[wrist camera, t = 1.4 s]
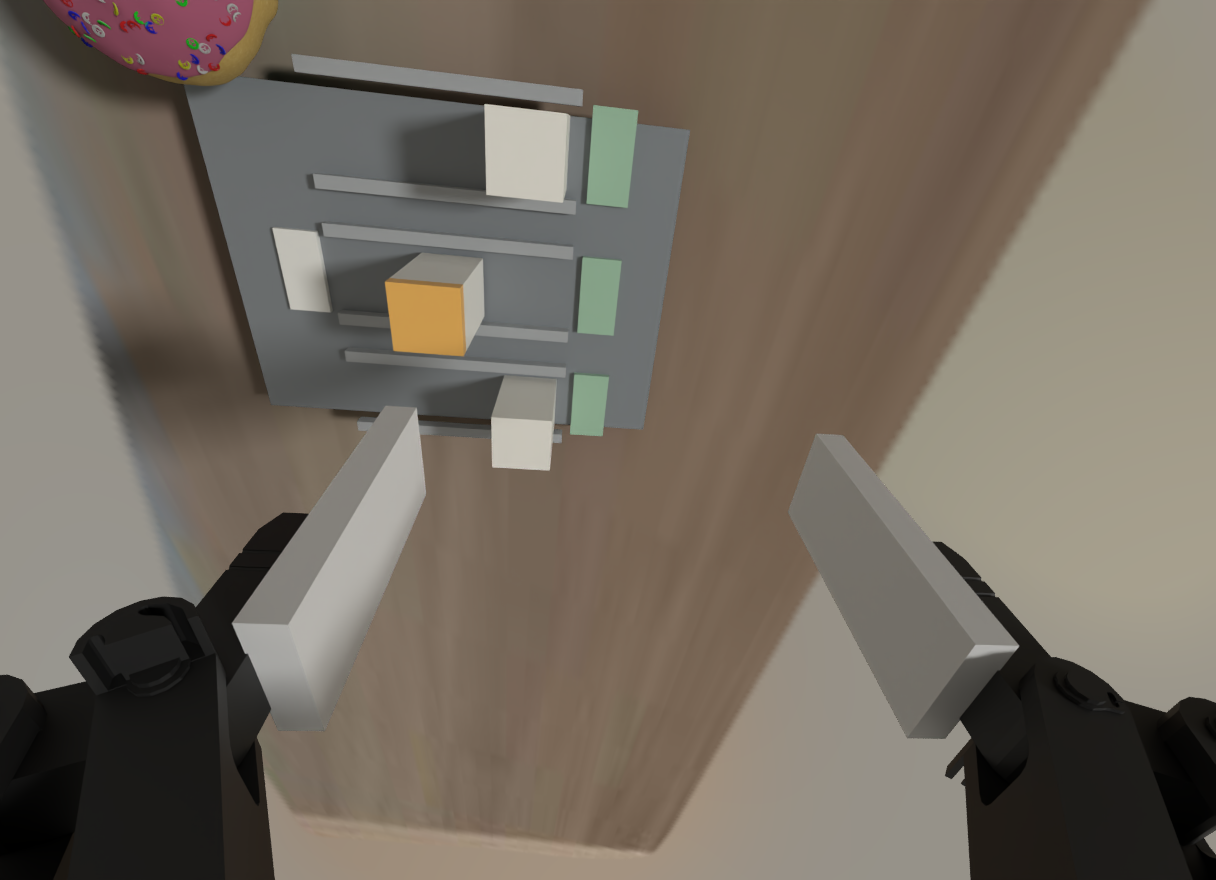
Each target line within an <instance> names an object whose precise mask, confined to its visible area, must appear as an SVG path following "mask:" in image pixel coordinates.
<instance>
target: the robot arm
mask: <svg viewBox="0 0 1216 880" xmlns="http://www.w3.org/2000/svg"><path fill="white" fill-rule="evenodd" d="M425 495H426V488H425V479H424V470H423V461H422V451H421V442H420V433H419V424H418V415H417V408H414V407H399V406H385V407H384V409H383V410H382V411H381V413H380V414H379V416H378V417H377V418H376V420H375V421H374V423H373V424H372V426H371V427H370V428H369V430H368V431H367V433H366V434H365V435H364V437H363V438H362V440H361V441H360V443H359V444H358V445H357V447H356V448H355V450H354V451H353V452H352V454H351V455H350V457H349V458H348V460H347V461H346V462H345V464H344V465H343V467H342V468H341V469H340V471H339V472H338V474H337V475H336V477H335V478H334V479H333V481H332V482H331V484H330V485H329V486H328V488H327V489H326V491H325V492H324V493H323V495H322V496H321V498H320V499H319V501H318V502H317V503H316V505H315V506H314V508H313V509H312V510H311V512H310V513H309V514H304V513H282V514H280V515H279V516H277V517H276V518H274V519H273V520H272V521H270V522H269V523H267V524H266V525H264V526H263V527H261V528H260V529H258V531H257V532H256V533H255V534H254V536H253V537H252V538H251V539H250V541H249V542H248V543H247V544H246V546H245V547H244V548H243V552H242V553H239V554H238V556H237V557H236V558H235V559H234V561H233V562H232V563H231V564H230V566H229V570H226V571H225V572H224V573H223V574H222V575H221V577H220V578H219V579H218V580H217V582H216V583H215V584H214V585H213V587H212V588H211V589H210V590H209V592H208V593H207V594H206V595H205V597H204V598H203V599H202V600H201V602H200V603H199V604H198V605H197V607H196V608H195V606H194V604H192V603H190V602H188V601H186V600H185V599H183V598H177V597H158V598H153V599H148V600H143V601H139V602H137V603H134V604H131V605H129V606H126V607H124V608H121V609H119V610H116V611H115V612H113V613H111V614H110V615H108V616H107V617H105V618H103V619H102V620H100V621H99V622H97V623H95V624H94V625H93V626H92V627H91V628H90V629H89V630H88V631H87V632H86V633H85V634H84V635H82V636H81V638H79V639H78V640H77V642H76V644H75V646H74V648H73V650H72V652H71V654H70V656H69V658H70V659H71V661H72V662H73V664H74V665H75V666H76V668H77V669H78V671H79V672H80V673H81V675H82V676H83V678H84V679H85V680H86V682H81V683H77V684H73V685H68V686H64V687H60V688H55V689H51V690H46V691H42V692H38V693H33V692H32V691H31V690H30V688H29V687H28V686H27V685H26V684H25V682H24V681H23V680H22V679H19V678H16V677H13V676H10V675H0V880H275V877H274V868H273V858H272V848H271V838H270V829H269V820H268V809H267V800H266V790H265V780H264V770H263V760H262V750H261V746H260V744H259V742H258V739H257V735H258V733H259V731H260V729H261V727H262V726H263V724H264V722H265V720H266V718H267V716H268V714H269V712H270V713H271V715H272V718H273V720H274V722H275V725H276V727H277V729H278V731H325V729H326V727H327V725H328V722H329V720H330V718H331V715H332V713H333V711H334V708H335V706H336V704H337V701H338V699H339V697H340V694H341V692H342V690H343V687H344V685H345V683H346V680H347V678H348V676H349V673H350V671H351V669H352V666H353V664H354V662H355V659H356V657H357V655H358V652H359V650H360V648H361V645H362V643H363V641H364V638H365V636H366V634H367V631H368V629H369V627H370V624H371V622H372V619H373V617H374V615H375V612H376V610H377V608H378V605H379V603H380V601H381V598H382V596H383V594H384V591H385V589H386V587H387V584H388V582H389V580H390V577H391V575H392V573H393V570H394V568H395V566H396V563H397V561H398V559H399V556H400V554H401V552H402V549H403V547H404V545H405V542H406V540H407V538H408V535H409V533H410V531H411V528H412V526H413V524H414V521H415V519H416V517H417V514H418V512H419V510H420V507H421V505H422V502H423V500H424V498H425ZM788 514H789V515H790V517H791V519H792V521H793V523H794V525H795V527H796V529H797V531H798V532H799V534H800V536H801V538H802V540H803V542H804V544H805V546H806V548H807V550H808V551H809V553H810V555H811V557H812V559H813V561H814V563H815V565H816V567H817V568H818V570H819V572H820V574H821V576H822V578H823V580H824V582H825V584H826V585H827V587H828V589H829V591H830V593H831V595H832V597H833V598H834V601H835V602H836V604H837V606H838V608H839V610H840V612H841V614H842V616H843V618H844V620H845V621H846V623H847V625H848V627H849V629H850V631H851V633H852V635H853V636H854V638H855V640H856V642H857V644H858V646H859V648H860V650H861V652H862V654H863V655H864V657H865V659H866V661H867V663H868V665H869V667H870V669H871V671H872V672H873V674H874V676H875V678H876V680H877V682H878V684H879V686H880V687H881V690H882V692H883V693H884V695H885V696H886V699H887V701H888V703H889V704H890V707H891V708H892V710H893V712H894V714H895V716H896V718H897V720H898V722H899V724H900V726H901V727H902V729H903V731H904V733H905V735H906V737H907V738H933V739H938V738H939V739H944V738H946V737H947V736H948V734H949V733H950V732H951V731H952V729H953V728H954V727H955V726H956V724H957V723H958V722H959V721H960V720H961V722H962V723H963V725H964V726H965V728H966V730H967V731H968V733H969V734H970V736H971V739H970V740H969V741H968V743H967V744H966V745H965V746H964V747H963V748H962V750H961V751H960V752H959V753H958V754H957V755H956V757H955V758H954V759H953V760H952V761H951V763H950V764H949V765H948V766H947V770H946V774H945V776H946V777H948V778H950V779H952V778H953V777H954V776H955V775H956V774H957V773H958V771H959V770H960V769H961V768H962V767H963V766H964V773H965V779H964V780H963V781H962V782H961V784H962V785H964V786H965V789H966V808H967V825H968V840H969V841H968V842H969V858H970V877H971V880H1216V854H1215V853H1214V852H1213V851H1212V849H1211V848H1210V847H1209V845H1208V844H1207V842H1206V841H1205V839H1204V837H1206V836H1207V835H1209V834H1211V833H1212V832H1214V831H1215V830H1216V703H1215V702H1212V701H1209V700H1206V699H1202V698H1194V697H1188V698H1186V699H1183V700H1181V701H1180V702H1178V704H1176V705H1175V706H1174V707H1173V708H1171V709H1170V710H1169V711H1168V712H1167V713H1166V712H1162V711H1159V710H1156V709H1152V708H1149V707H1145V706H1142V705H1139V704H1135V703H1132V702H1128V701H1125V700H1123V699H1122V697H1121V696H1119V694H1118V693H1117V692H1116V691H1115V690H1114V689H1113V688H1112V687H1111V686H1110V685H1109V684H1108V683H1106V682H1105V681H1104V680H1102V679H1101V678H1099V677H1098V676H1097V675H1095V674H1094V673H1093V672H1091V671H1089V670H1087V669H1085V668H1083V667H1081V666H1079V665H1077V664H1075V663H1073V662H1070V661H1067V660H1064V659H1060V658H1057V657H1051V656H1050V655H1049V654H1048V653H1047V652H1046V651H1045V650H1044V649H1043V647H1042V646H1041V645H1040V644H1039V643H1038V642H1037V641H1036V639H1035V638H1034V637H1033V636H1032V635H1031V634H1030V633H1029V631H1028V630H1027V629H1026V628H1025V627H1024V626H1023V625H1022V624H1021V622H1020V621H1019V620H1018V619H1017V618H1016V617H1015V616H1014V614H1013V613H1012V612H1011V611H1010V610H1009V609H1008V608H1007V606H1006V605H1005V604H1004V603H1003V602H1002V601H1001V600H1000V598H999V597H995V593H994V592H993V591H992V590H991V588H990V587H989V586H988V585H987V584H986V583H985V582H983V581H981V577H980V576H979V575H978V573H977V572H976V571H975V570H974V569H973V568H972V567H971V566H970V564H969V563H968V562H967V561H966V560H965V559H964V558H963V557H961V556H960V555H959V554H957V553H956V552H954V551H953V550H952V549H950V548H949V547H948V546H946V545H945V544H944V543H942V542H932V541H931V540H930V539H929V537H928V536H927V535H926V534H925V533H924V531H923V530H922V529H921V528H920V527H919V526H918V524H917V523H916V522H915V521H914V520H913V518H912V517H911V516H910V515H909V513H908V512H907V511H906V510H905V509H904V508H903V506H902V505H901V504H900V503H899V502H898V500H897V499H896V498H895V497H894V496H893V494H892V493H891V492H890V491H889V490H888V488H887V487H886V486H885V485H884V484H883V483H882V481H881V480H880V479H879V478H878V476H877V475H876V474H875V473H874V472H873V470H872V469H871V468H870V467H869V466H868V464H867V463H866V462H865V461H864V460H863V459H862V457H861V456H860V455H859V454H858V453H857V451H856V450H855V449H854V448H853V447H852V445H851V444H850V443H849V442H848V441H847V439H846V438H845V437H844V436H843V435H830V434H816V435H815V438H814V441H813V444H812V447H811V449H810V452H809V455H808V458H807V461H806V463H805V466H804V469H803V472H802V474H801V477H800V480H799V483H798V486H797V488H796V491H795V494H794V497H793V499H792V502H791V505H790V508H789V511H788Z"/></svg>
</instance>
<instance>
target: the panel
mask: <svg viewBox="0 0 1216 880" xmlns="http://www.w3.org/2000/svg"><path fill="white" fill-rule="evenodd" d="M291 55H292V60H293V66H294V71H295V72H299V73H306V74H314V75H323V76H331V77H339V78H348V79H356V80H364V81H373V82H381V83H389V84H398V85H406V86H414V87H423V88H431V89H439V90H447V91H456V92H464V93H472V94H481V95H489V96H497V97H506V98H514V99H522V100H531V101H539V102H547V103H555V104H564V105H572V106H580V107H582V100H583V90H581V89H573V88H565V87H557V86H549V85H541V84H532V83H524V82H516V81H508V80H500V79H492V78H484V77H476V76H468V75H459V74H451V73H443V72H435V71H427V70H419V69H411V68H403V67H395V66H386V65H378V64H370V63H362V62H354V61H346V60H338V59H330V58H321V57H313V56H305V55H297V54H291ZM184 88H185V92H186V95H187V99H188V103H189V106H190V110H191V114H192V117H193V121H194V124H195V128H196V132H197V135H198V139H199V143H200V146H201V150H202V154H203V157H204V161H205V165H206V168H207V172H208V176H209V179H210V183H211V187H212V190H213V194H214V198H215V201H216V205H217V209H218V212H219V216H220V220H221V223H222V227H223V230H224V234H225V238H226V241H227V245H228V249H229V252H230V256H231V260H232V263H233V267H234V271H235V274H236V278H237V282H238V285H239V289H240V293H241V296H242V300H243V304H244V307H245V311H246V315H247V318H248V322H249V326H250V329H251V333H252V337H253V340H254V344H255V347H256V351H257V355H258V358H259V362H260V366H261V369H262V373H263V377H264V380H265V384H266V388H267V391H268V395H269V399H270V402H271V405H281V406H296V407H311V408H326V409H341V410H357V411H372V412H381V411H382V410H383V409H384V407H385V406H399V407H414V408H417V415H432V416H447V417H462V418H477V419H491V425H482V424H466V423H451V422H436V421H421V420H418V424H419V433H420V434H425V435H441V436H456V437H472V438H488V439H492V467H499V468H516V469H533V470H550V462H551V452H552V443H561V440H562V430H558V429H554V424H568V425H571V427H570V434H576V435H591V436H603V427H613V428H628V429H643V426H644V420H645V414H646V407H647V401H648V395H649V388H650V382H651V376H652V369H653V363H654V356H655V350H656V344H657V337H658V331H659V325H660V318H661V312H662V305H663V299H664V293H665V286H666V280H667V274H668V267H669V261H670V255H671V248H672V242H673V235H674V229H675V223H676V216H677V210H678V204H679V197H680V191H681V184H682V178H683V172H684V165H685V159H686V153H687V146H688V140H689V134H690V130H685V129H676V128H668V127H660V126H651V125H643V124H637V118H638V110H629V109H621V108H613V107H605V106H596V105H593V118H584V117H575V116H570V115H568V114H565V113H557V112H549V111H540V110H532V109H523V108H515V107H507V106H498V105H490V104H484V106H482V105H474V104H466V103H457V102H449V101H440V100H432V99H423V98H415V97H407V96H398V95H390V94H381V93H373V92H364V91H356V90H348V89H339V88H331V87H322V86H314V85H305V84H297V83H288V82H280V81H272V80H263V79H255V78H246V77H236V78H235V79H233V80H232V81H230V82H228V83H225V84H222V85H215V86H198V85H187V84H184ZM421 253H432V254H443V255H454V256H465V257H475V258H483V278H484V318H483V320H482V322H481V324H480V326H479V328H478V330H477V332H476V334H475V335H474V337H473V339H472V341H471V343H470V345H469V347H468V349H467V351H466V353H465V355H464V356H451V355H438V354H425V353H412V352H399V351H394V350H393V342H392V334H391V326H390V319H389V311H388V303H387V295H386V287H385V281H386V280H388V279H389V278H390V277H391V276H393V275H394V274H395V273H397V272H398V271H399V270H400V269H402V268H403V267H404V266H405V265H407V264H408V263H409V262H411V261H412V260H413V259H414V258H416V257H417V256H418V255H419V254H421ZM375 420H376V418H375V417H360V418H359V420H358V421H357V424H358V430H361V431H368V430H369V428H370V427H371V426H372V424H373V423H374V421H375Z"/></svg>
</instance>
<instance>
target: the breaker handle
mask: <svg viewBox="0 0 1216 880" xmlns="http://www.w3.org/2000/svg"><path fill="white" fill-rule="evenodd" d="M385 287H386V295H387V303H388V311H389V319H390V326H391V334H392V342H393V350H394V351H399V352H412V353H425V354H438V355H451V356H464V355H465V353H466V351H467V349H468V347H469V345H470V343H471V341H472V339H473V337H474V335H475V334H476V332H477V330H478V328H479V326H480V324H481V322H482V320H483V318H484V278H483V258H475V257H465V256H454V255H443V254H432V253H421V254H419V255H418V256H417V257H416V258H414V259H413V260H412V261H411V262H409V263H408V264H407V265H405V266H404V267H403V268H402V269H400V270H399V271H398V272H397V273H395V274H394V275H393V276H391V277H390V278H389V279H388V280H386V281H385Z"/></svg>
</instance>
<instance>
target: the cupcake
mask: <svg viewBox="0 0 1216 880" xmlns="http://www.w3.org/2000/svg"><path fill="white" fill-rule="evenodd" d="M43 1H44V2H45V3H46V4H47V6H48V7H49V8H50V9H51V10H52V11H53V12H54V13H55V14H56V16H57V17H58V18H60V19H61V20H62V21H63V22H64V23H65V24H66V25H67V26H68V27H69V29H70V31H71V32H72V33H74V34H75V35H76V36H78V37H81V39H82V41H83V42H84V44H86V45H87V46H89V47H95V48H96V49H98V50H99V51H101V52H102V53H104V54H105V55H107V56H109V57H110V58H112V59H113V60H115V61H116V62H118V63H120V64H121V65H123V66H125V67H127V68H129V69H132V70H135V71H137V72H138V73H140V74H145V75H146V74H148V75H150V76H153V77H156V78H159V79H162V80H165V81H169V82H173V83H178V84H187V85H198V86H215V85H222V84H225V83H228V82H230V81H232V80H233V79H235V78H236V77H238V76H239V75H241V74H242V73H243V72H244V71H245V69H246V68H247V66H248V65H249V64H250V62H251V61H252V60H253V58H254V57H255V56H256V54H257V52H258V51H259V48H260V46H261V43H262V40H263V37H264V34H265V31H266V29H267V26H268V25H269V23H270V22H271V21H272V19H273V18H274V17H275V15H276V13H277V9H278V0H43ZM85 41H87V43H86V42H85ZM88 43H89V44H88Z"/></svg>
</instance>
